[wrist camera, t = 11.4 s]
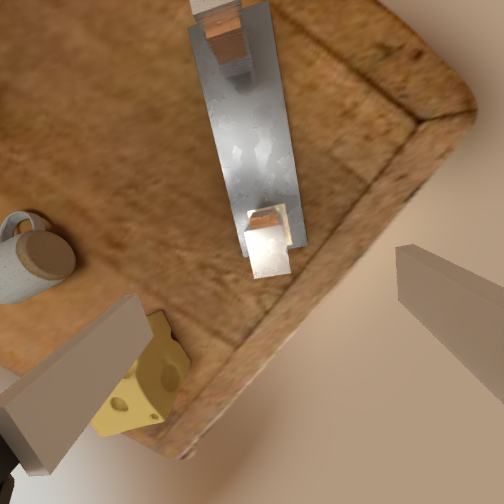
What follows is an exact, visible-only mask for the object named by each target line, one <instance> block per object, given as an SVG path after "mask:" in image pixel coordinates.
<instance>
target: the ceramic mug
mask: <svg viewBox="0 0 504 504" xmlns="http://www.w3.org/2000/svg"><path fill="white" fill-rule="evenodd" d="M24 219H30V221H31V223H32V228H33V231H28V232H24V233H21V234H18V235H16V236H14V232H15V229H16V227H17V224H18V223H19V222H20V221H22V220H24ZM45 229H46V228H45V224H44V222H43V220H42V218H41V217H40V216H38V215H37V214H34V213H30V212H25V211H17V212H14V213H12V214H10V215H9V216H8V217H7V218H6V219H5V220H4V221H3V223H2V225H1V228H0V304H15V303H20V302H23V301H25V300H27V299H29V298H31V297H33V296H35V295H37V294H39V293H41V292H43V291H45V290H47V289H48V288H50V287H52V286H54V285H57V284H59V283H60V282H62V281H63V280H65V279H66V278H67V277H69V276H70V275H71V273H72V272H73V271H74V268H75V266H76V258H75V254H74V252H73V250H72V248H71V246H70V245H69V244H68V243H67V242H66V241H65V240H64V239H63V238H61V237H60V236H58V235H56V234H54V233H52V232H48V231H46V230H45Z"/></svg>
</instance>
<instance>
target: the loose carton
mask: <svg viewBox="0 0 504 504" xmlns="http://www.w3.org/2000/svg"><path fill="white" fill-rule="evenodd" d="M244 235H245V239H246V244H247V248H248V253H249V257H250V262H251V266H252V271H253V275H254V279H257V278H263V277H269V276H276V275H282V274H289V273H291V271H290V265H289V259H288V253H287V248H286V242H285V236H284V230H283V224H282V219H281V214H280V209H279V208H277V209H276V208H272V209H267V210H262V211H257V212H253V213H252V214H251V216H250V218H249V223H248V225H247V227H246V229H245V231H244Z"/></svg>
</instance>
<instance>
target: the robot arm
mask: <svg viewBox="0 0 504 504" xmlns="http://www.w3.org/2000/svg"><path fill="white" fill-rule="evenodd" d="M395 249H396V266H397V285H398V300H399V301H400V302H401V303H402V304H403V305H404V306H405V307H406V308H407V309H408V310H409V311H410V312H411V313H412V314H413V315H414V316H415V317H416V318H417V319H418V320H419V321H420V322H421V323H422V324H423V325H424V326H425V327H426V328H427V329H428V330H429V331H430V332H431V333H432V334H433V335H434V336H435V337H436V338H437V339H438V340H439V341H440V342H441V343H442V344H443V345H444V346H445V347H446V348H447V349H448V350H449V351H450V352H451V353H452V354H453V355H454V356H455V357H456V358H457V359H458V360H459V361H461V363H462V364H463V365H464V366H465V367H466V368H467V369H469V370H470V371H471V372H472V373H473V374H474V375H475V376H476V377H477V378H478V379H479V380H480V381H481V382H482V383H483V384H484V385H485V386H486V387H487V388H488V389H489V390H490V391H491V392H492V393H493V394H494V395H495V396H496V397H497V398H498V399H499V400H500V401H501V402H502V403H503V404H504V288H503V287H501V286H499V285H497V284H495V283H493V282H491V281H489V280H486V279H485V278H482V277H480V276H478V275H476V274H474V273H472V272H470V271H468V270H466V269H464V268H462V267H460V266H457V265H455V264H453V263H451V262H449V261H447V260H445V259H443V258H441V257H439V256H437V255H435V254H433V253H431V252H428V251H426V250H424V249H422V248H420V247H418V246H416V245H414V244H412V245H406V246H401V247H396V248H395ZM153 337H154V335H153V332H152V330H151V327H150V325H149V322H148V320H147V317H146V315H145V312H144V310H143V307H142V305H141V302H140V300H139V297H138V295H137V293H135V294H130V295H124V296H123V297H122V298H120V299H119V300H118V301H117V302H115V303H114V304H113V305H112V306H110V307H109V308H108V309H107V310H105V311H104V312H103V313H102V314H100V315H99V316H98V317H97V318H95V319H94V320H93V321H92V322H90V323H89V324H88V325H87V326H85V327H84V328H83V329H81V330H80V331H79V332H78V333H76V334H75V335H74V336H73V337H71V338H70V339H69V340H68V341H66V342H65V343H64V344H63V345H61V346H60V347H59V348H58V349H56V350H55V351H54V352H53V353H51V354H50V355H49V356H48V357H46V358H45V359H44V360H43V361H41V362H40V363H39V364H38V365H36V366H35V367H34V368H33V369H31V370H30V371H29V372H28V373H26V374H25V375H24V376H23V377H21V378H20V379H19V380H18V381H17V382H15V383H14V384H13V385H11V386H10V387H9V388H8V389H6V390H5V391H4V392H3V393H1V394H0V504H9V502H10V499H11V495H12V491H13V488H14V478H13V477H12V476H11V474H10V473H11V472H12V470H13V469H14V468H15V467H16V466H17V465H18V464H19V463H20V464H21V466H22V467H23V468H24V470H25V471H26V473H27V474H28V475H29V476H43V475H51V473H52V472H53V471H54V469H55V468H56V467H57V465H58V464H59V463H60V461H61V460H62V459H63V457H64V456H65V455H66V453H67V452H68V450H69V449H70V448H71V447H72V445H73V444H74V443H75V441H76V440H77V439H78V437H79V436H80V435H81V433H82V432H83V431H84V429H85V428H86V427H87V425H88V424H89V423H90V421H91V420H92V418H93V417H94V416H95V414H96V413H97V412H98V410H99V409H100V408H101V406H102V405H103V404H104V402H105V401H106V400H107V398H108V397H109V396H110V394H111V393H112V392H113V390H114V389H115V388H116V386H117V385H118V384H119V382H120V381H121V380H122V378H123V377H124V376H125V374H126V373H127V372H128V370H129V369H130V368H131V366H132V365H133V364H134V362H135V361H136V360H137V358H138V357H139V356H140V354H141V353H142V351H143V350H144V349H145V347H146V346H147V345H148V343H149V342H150V341H151V339H152V338H153Z"/></svg>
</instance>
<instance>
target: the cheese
mask: <svg viewBox="0 0 504 504" xmlns="http://www.w3.org/2000/svg"><path fill="white" fill-rule="evenodd" d="M147 320H148V322H149V325H150V327H151V330H152V332H153V335H154V337H153V338H152V339H151V341H150V342H149V343H148V345H147V346H146V347H145V349H144V350H143V351H142V353H141V354H140V356H139V357H138V358H137V360H136V361H135V362H134V364H133V365H132V366H131V368H130V369H129V370H128V372H127V373H126V374H125V376H124V377H123V378H122V380H121V381H120V382H119V384H118V385H117V386H116V388H115V389H114V390H113V392H112V393H111V394H110V396H109V397H108V398H107V400H106V401H105V402H104V404H103V405H102V406H101V408H100V409H99V410H98V412H97V413H96V414H95V416H94V417H93V418H92V420H91V421H90V424H91V425H92V426H93V427H94V429H95V430H96V431H97V433H98V434H99V435H100V437H107V436H111V435H115V434H118V433H121V432H124V431H127V430H131V429H134V428H138V427H142V426H146V425H151V424H156V423H161V422H164V421H165V420H166V418H167V416H168V414H169V412H170V410H171V408H172V406H173V403H174V401H175V399H176V397H177V394H178V392H179V390H180V388H181V386H182V384H183V381H184V379H185V377H186V374H187V371H188V368H189V365H190V359H189V358H188V356H187V355H186V353H185V351H184V350H183V348H182V347H181V345H180V344H179V342H177V341H176V340H173V339H172V338H171V327H170V325H169V323H168V322H167V320H166V318H165V315H164V313H163V312H162V310H161V311H157V312H155V313H153V314H151V315H149V316H147Z"/></svg>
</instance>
